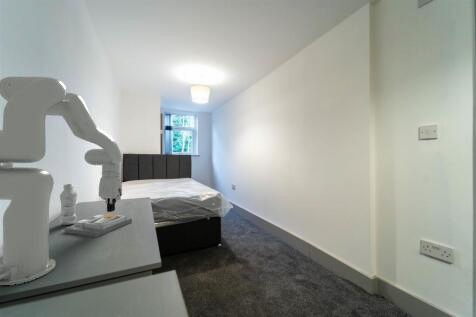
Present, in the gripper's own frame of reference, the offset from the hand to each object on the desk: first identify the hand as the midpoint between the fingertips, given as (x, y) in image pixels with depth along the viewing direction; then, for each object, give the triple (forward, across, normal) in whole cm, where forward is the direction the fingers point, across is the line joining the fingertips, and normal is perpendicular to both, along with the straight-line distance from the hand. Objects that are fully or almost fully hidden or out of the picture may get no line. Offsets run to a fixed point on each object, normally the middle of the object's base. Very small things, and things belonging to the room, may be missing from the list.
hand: (110, 211), depth 101 cm
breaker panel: (+7, -3, -3) cm, 8 cm away
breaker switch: (+3, 0, -3) cm, 4 cm away
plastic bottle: (+7, -21, -5) cm, 23 cm away
